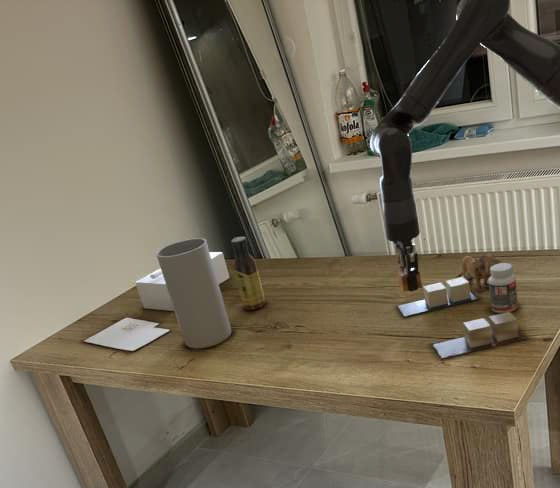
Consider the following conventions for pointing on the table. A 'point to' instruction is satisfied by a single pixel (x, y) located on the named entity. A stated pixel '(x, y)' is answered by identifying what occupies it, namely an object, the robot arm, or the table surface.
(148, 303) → the tissue box
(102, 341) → the paper
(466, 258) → the lion figurine
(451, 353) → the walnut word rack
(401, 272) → the orange cube
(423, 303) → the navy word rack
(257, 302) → the sauce bottle
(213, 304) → the cylinder vase
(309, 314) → the table surface
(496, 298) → the pill bottle
